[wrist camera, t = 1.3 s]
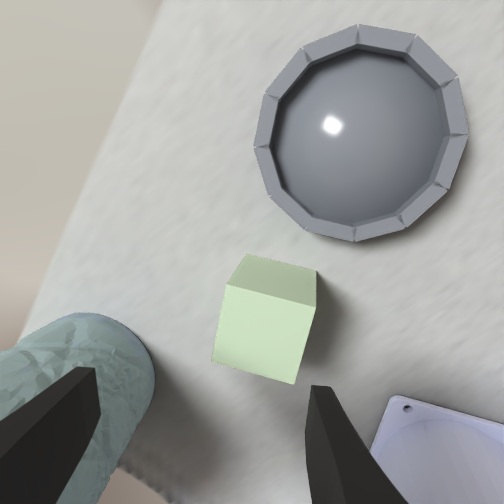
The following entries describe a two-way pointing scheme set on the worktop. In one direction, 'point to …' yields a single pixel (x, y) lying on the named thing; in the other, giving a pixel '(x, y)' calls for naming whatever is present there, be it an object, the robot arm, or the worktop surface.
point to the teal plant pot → (108, 382)
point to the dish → (361, 133)
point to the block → (266, 318)
